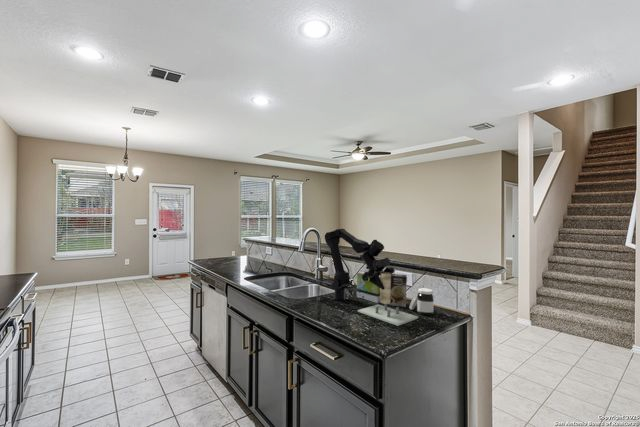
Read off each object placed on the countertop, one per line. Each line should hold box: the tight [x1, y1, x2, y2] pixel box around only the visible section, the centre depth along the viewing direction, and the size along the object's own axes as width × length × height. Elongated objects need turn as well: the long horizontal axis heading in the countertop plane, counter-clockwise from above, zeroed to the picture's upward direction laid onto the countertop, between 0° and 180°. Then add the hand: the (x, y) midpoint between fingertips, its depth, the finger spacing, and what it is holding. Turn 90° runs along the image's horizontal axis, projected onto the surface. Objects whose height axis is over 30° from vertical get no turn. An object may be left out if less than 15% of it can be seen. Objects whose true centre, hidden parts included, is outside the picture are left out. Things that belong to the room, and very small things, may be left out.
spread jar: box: [408, 287, 435, 316], centre depth 155 cm, size 12×11×12 cm
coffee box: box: [388, 273, 408, 308], centre depth 167 cm, size 9×6×16 cm
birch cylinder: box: [379, 272, 391, 305], centre depth 148 cm, size 5×5×14 cm
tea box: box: [356, 270, 380, 304], centre depth 178 cm, size 15×10×15 cm
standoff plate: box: [357, 304, 419, 327], centre depth 150 cm, size 24×16×4 cm, turn 40°
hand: (387, 288), depth 147 cm, fingers closed on birch cylinder, 5 cm apart
